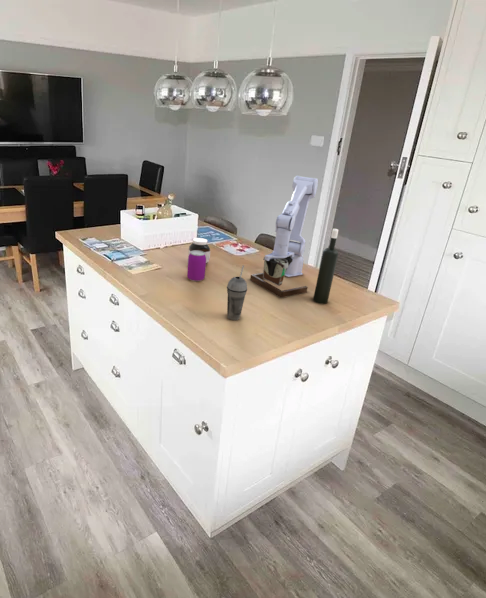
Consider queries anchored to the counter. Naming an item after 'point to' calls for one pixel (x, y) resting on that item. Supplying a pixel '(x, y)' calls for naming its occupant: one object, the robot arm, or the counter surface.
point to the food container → (276, 271)
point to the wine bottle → (326, 271)
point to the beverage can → (196, 265)
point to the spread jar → (200, 247)
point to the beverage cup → (236, 296)
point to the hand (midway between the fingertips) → (276, 274)
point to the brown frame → (258, 280)
